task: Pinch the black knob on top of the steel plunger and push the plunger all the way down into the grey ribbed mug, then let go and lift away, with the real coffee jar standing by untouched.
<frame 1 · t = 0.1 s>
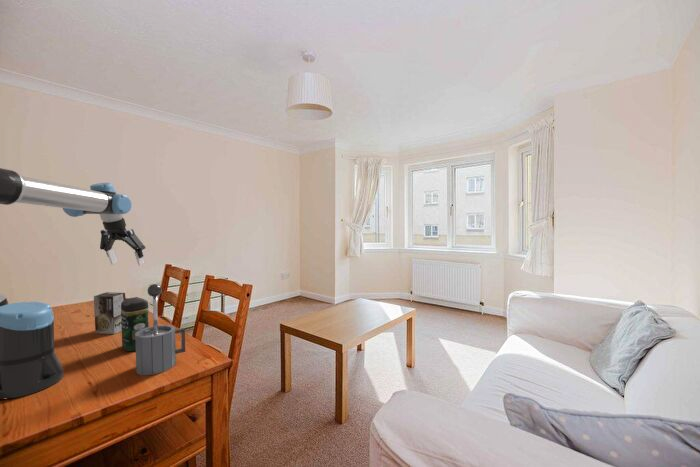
hand: (128, 263, 135), 28 cm above the table, tool tilted 20°, fingers open, 13 cm apart
coffee jar: (135, 347, 113), on the table
plunger: (155, 310, 97), point 19 cm above the table, slide at 0.0 cm
coffee box: (111, 331, 128), on the table
grey ribbed mug: (156, 366, 98), on the table
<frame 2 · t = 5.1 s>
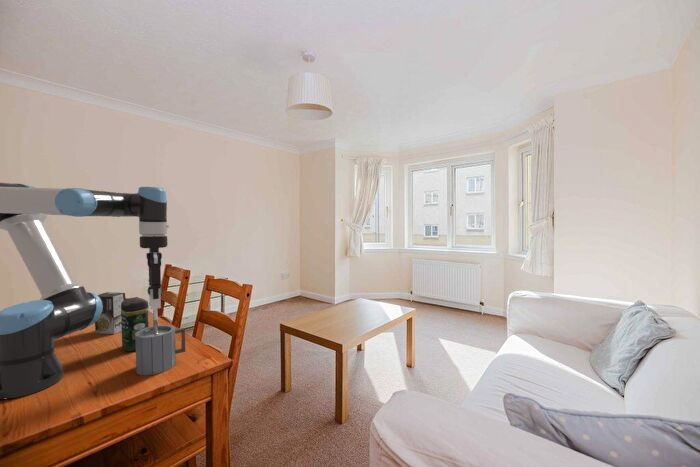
hand: (155, 306, 97), 20 cm above the table, tool pointing down, fingers closed on plunger, 4 cm apart
plunger: (155, 310, 97), point 19 cm above the table, slide at 0.0 cm, touching gripper
everything else where it was.
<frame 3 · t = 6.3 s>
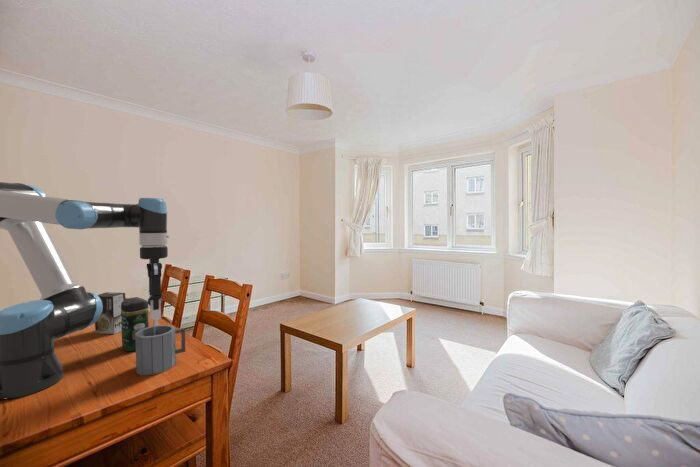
hand: (155, 316, 98), 17 cm above the table, tool pointing down, fingers closed on plunger, 4 cm apart
plunger: (155, 320, 98), point 15 cm above the table, slide at 3.5 cm, touching gripper
everything else where it was.
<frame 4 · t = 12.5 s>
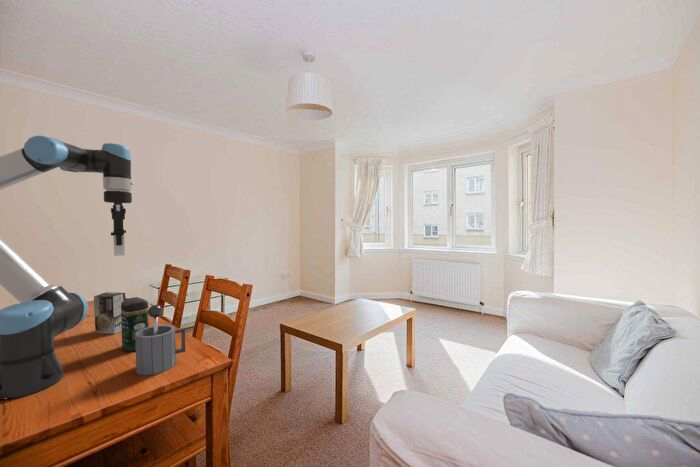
hand: (119, 253, 102), 37 cm above the table, tool pointing down, fingers open, 13 cm apart
plunger: (155, 331, 98), point 12 cm above the table, slide at 6.9 cm
everything else where it was.
at the end: plunger slide at 6.9 cm; the gripper is holding nothing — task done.
